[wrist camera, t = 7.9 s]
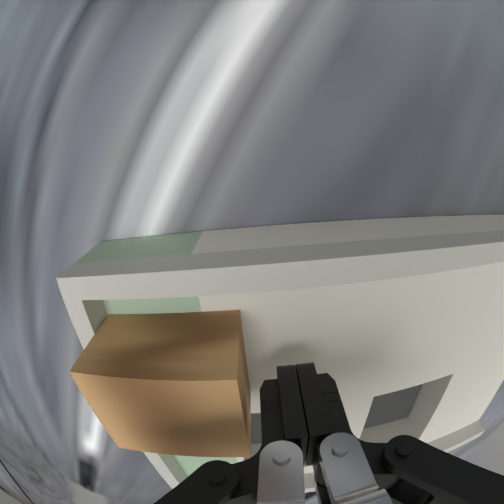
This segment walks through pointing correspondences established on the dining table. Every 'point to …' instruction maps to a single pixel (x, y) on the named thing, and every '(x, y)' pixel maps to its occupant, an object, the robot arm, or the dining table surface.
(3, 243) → the dining table surface
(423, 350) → the box
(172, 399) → the block
